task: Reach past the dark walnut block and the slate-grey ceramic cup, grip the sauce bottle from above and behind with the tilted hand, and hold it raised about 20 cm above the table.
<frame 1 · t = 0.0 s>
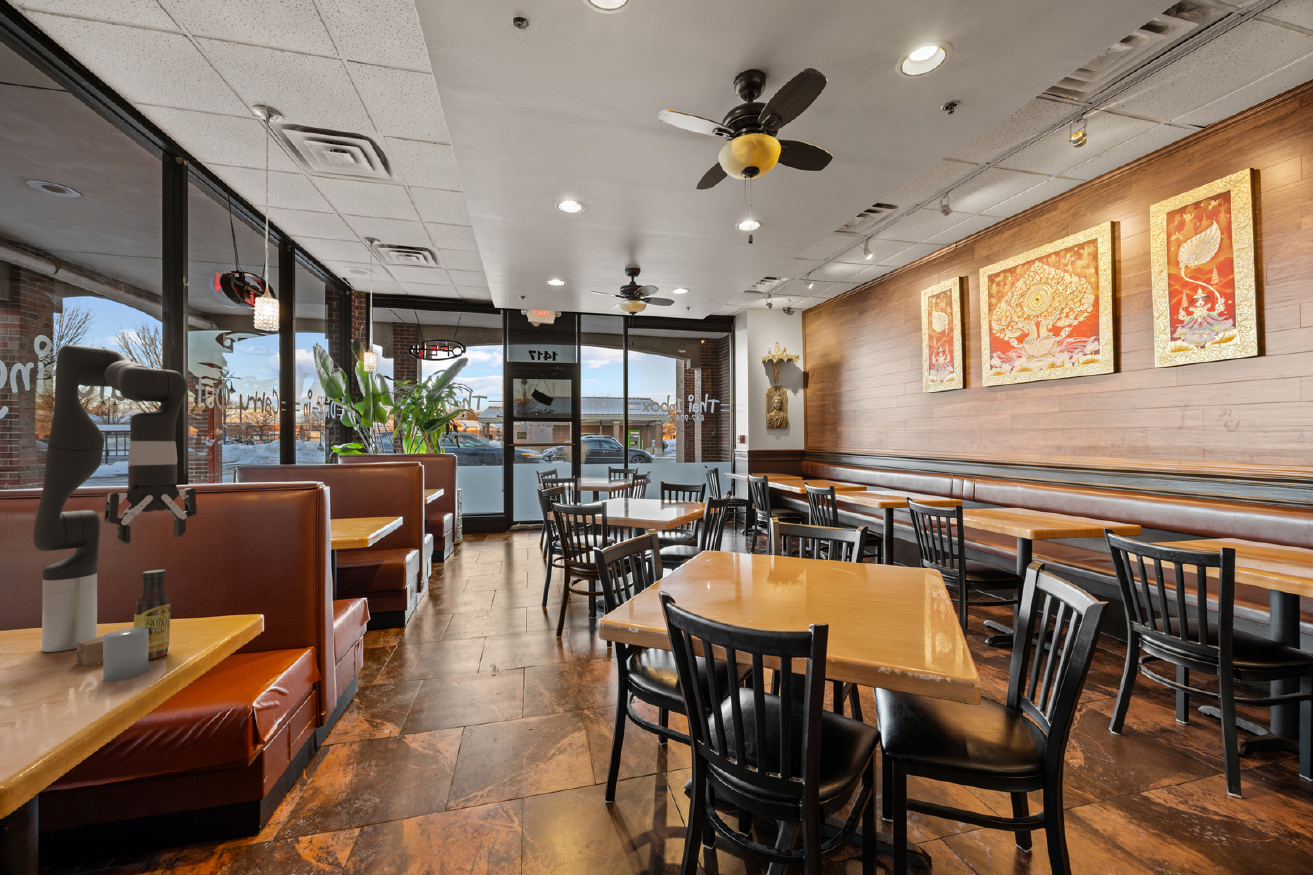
hand: (152, 539, 114), 29 cm above the table, tool pointing down, fingers open, 8 cm apart
sauce bottle: (151, 657, 126), on the table
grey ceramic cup: (126, 674, 116), on the table
walnut block: (96, 661, 124), on the table
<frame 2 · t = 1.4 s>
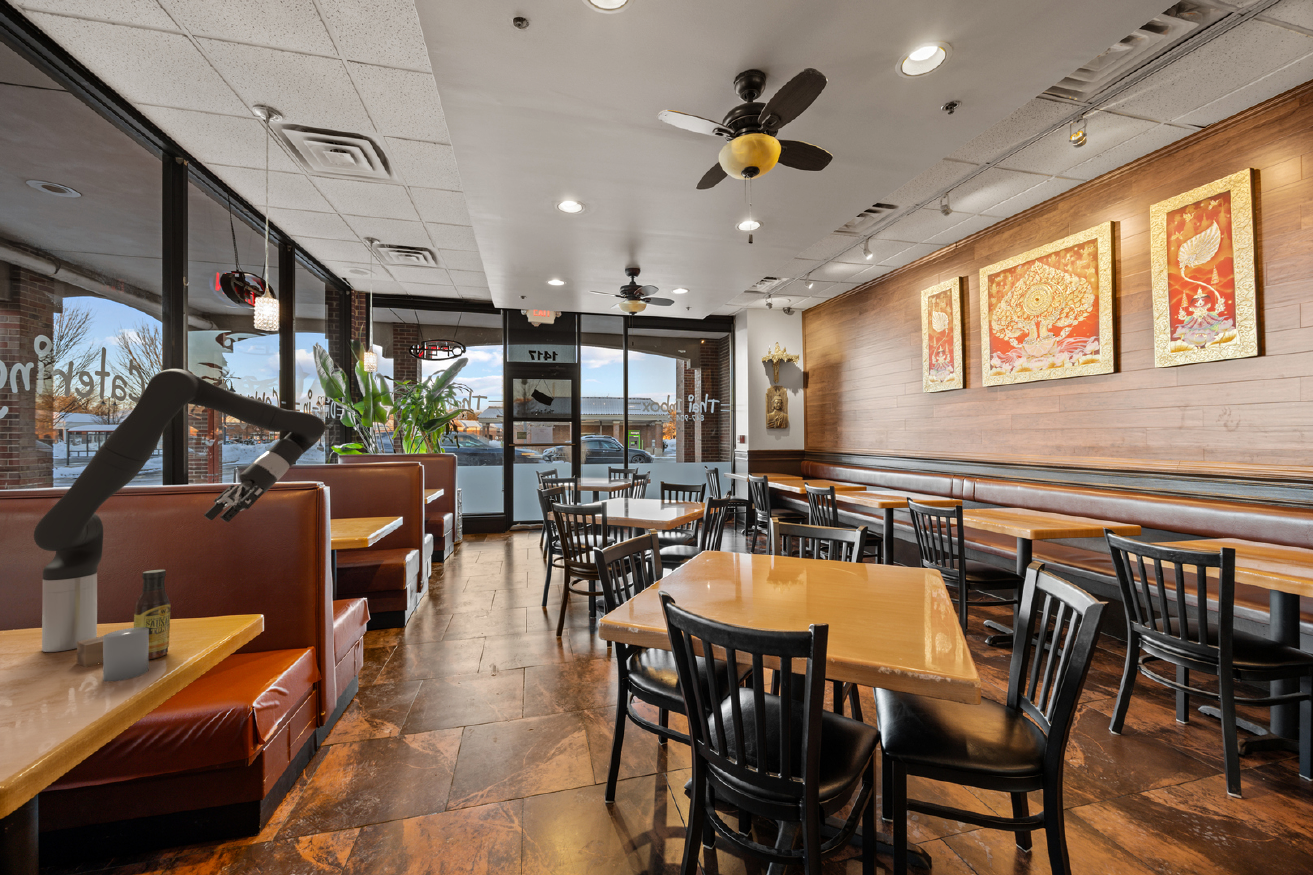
hand: (215, 519, 138), 31 cm above the table, tool tilted 45°, fingers open, 8 cm apart
nothing on the table moved.
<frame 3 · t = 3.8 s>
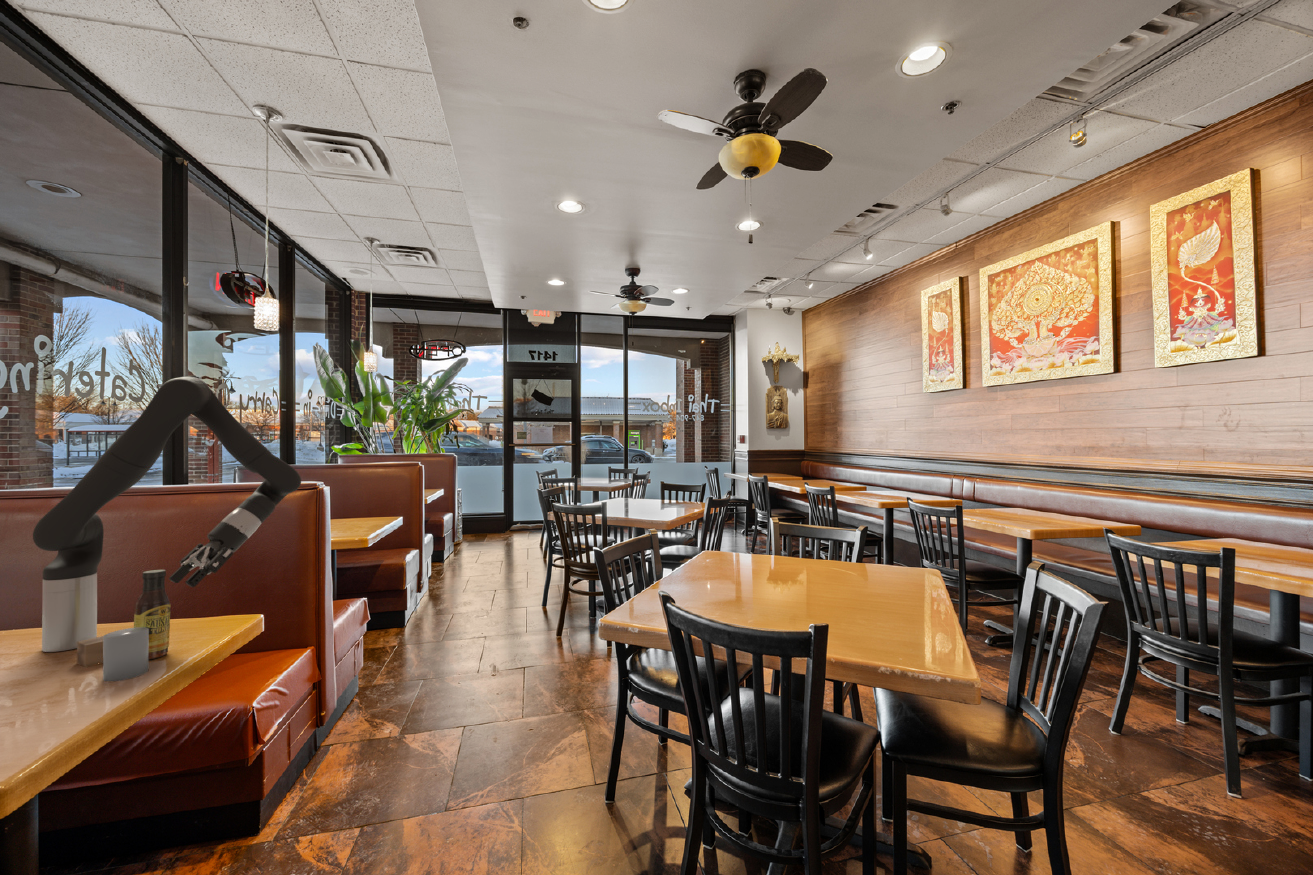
hand: (180, 583, 131), 16 cm above the table, tool tilted 45°, fingers open, 8 cm apart
nothing on the table moved.
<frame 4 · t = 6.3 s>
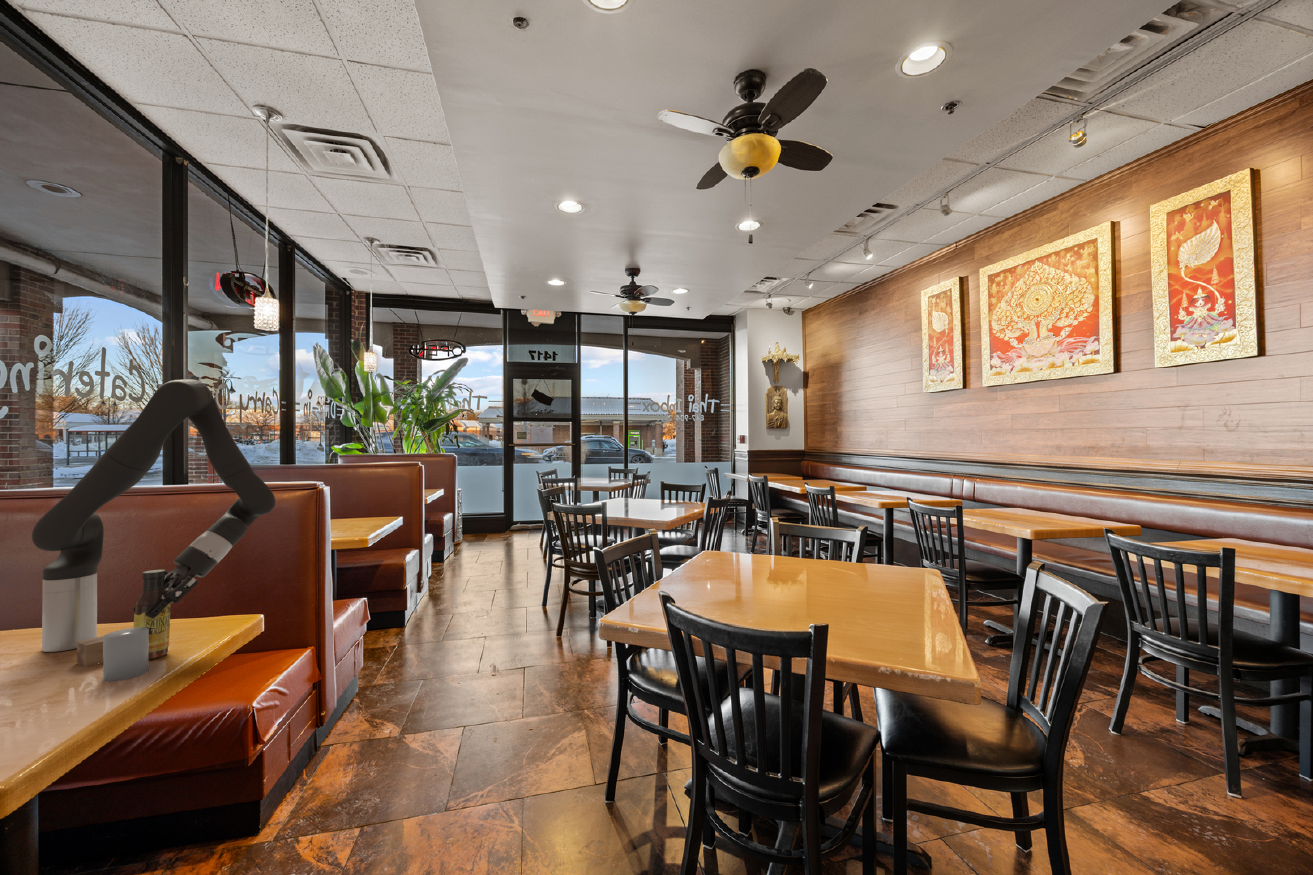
hand: (142, 614, 125), 10 cm above the table, tool tilted 45°, fingers closed on sauce bottle, 6 cm apart
sauce bottle: (151, 657, 126), on the table, touching gripper
everything else where it was.
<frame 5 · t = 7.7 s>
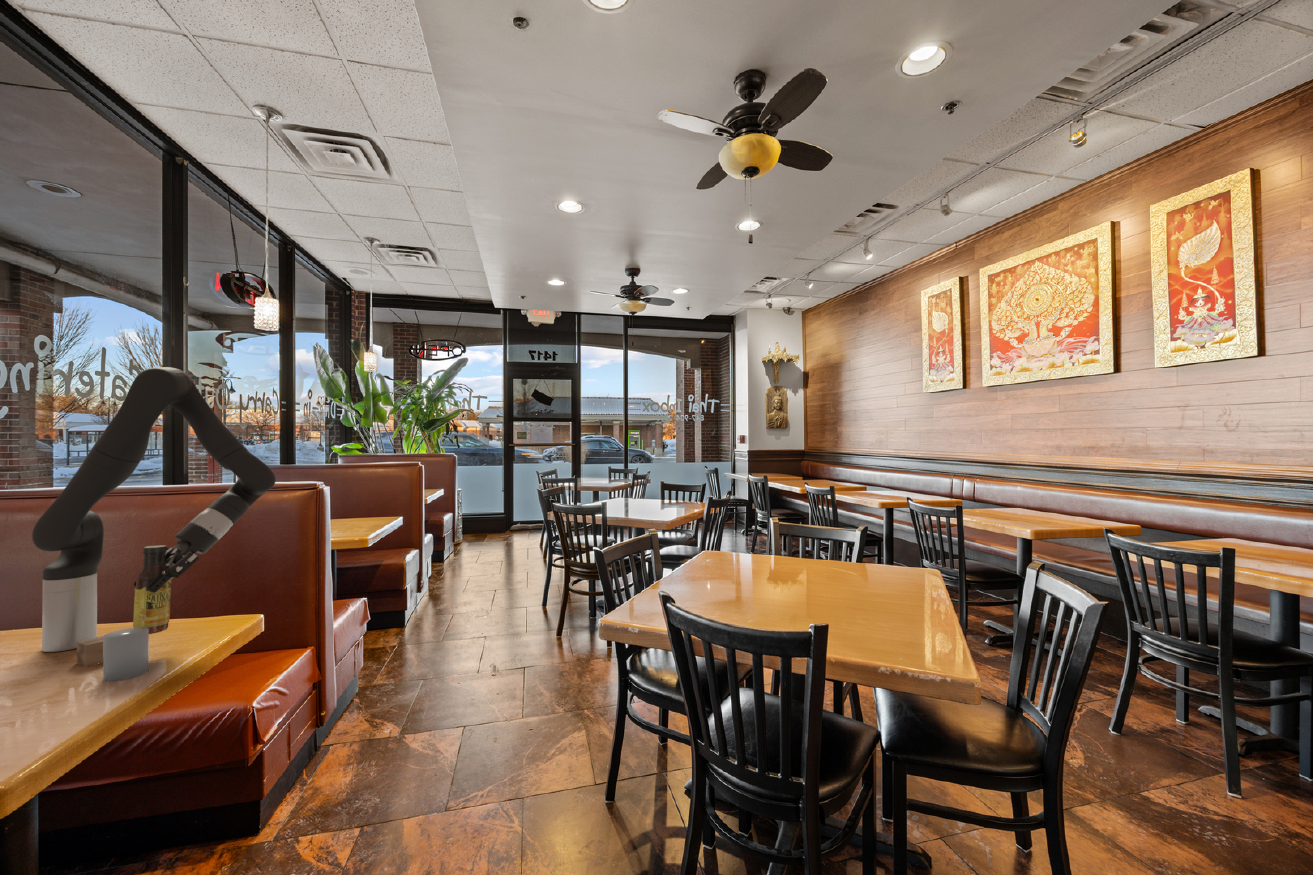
hand: (143, 588, 125), 16 cm above the table, tool tilted 45°, fingers closed on sauce bottle, 6 cm apart
sauce bottle: (152, 632, 127), point 6 cm above the table, touching gripper
everything else where it was.
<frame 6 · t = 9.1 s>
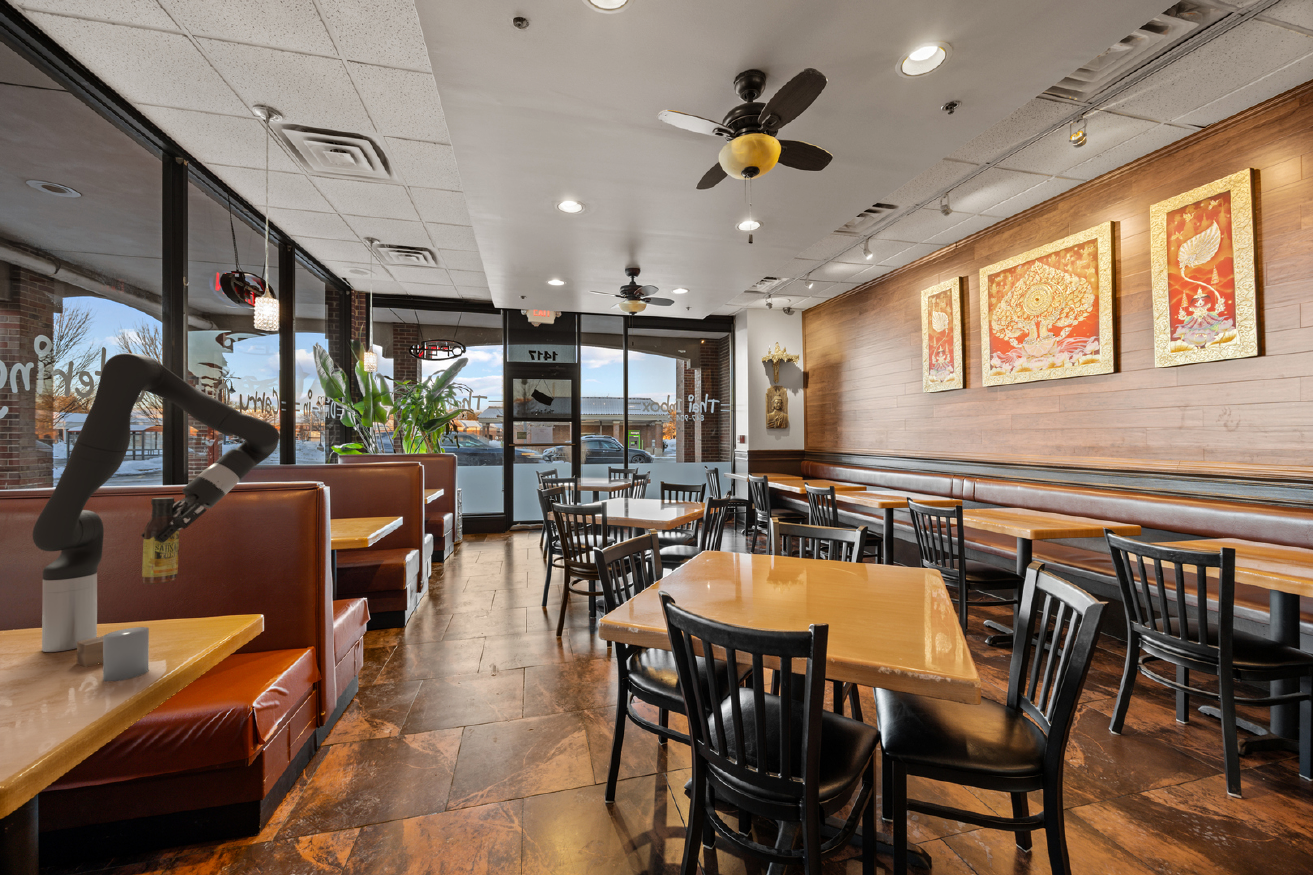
hand: (151, 539, 127), 27 cm above the table, tool tilted 45°, fingers closed on sauce bottle, 6 cm apart
sauce bottle: (160, 582, 128), point 17 cm above the table, touching gripper
everything else where it was.
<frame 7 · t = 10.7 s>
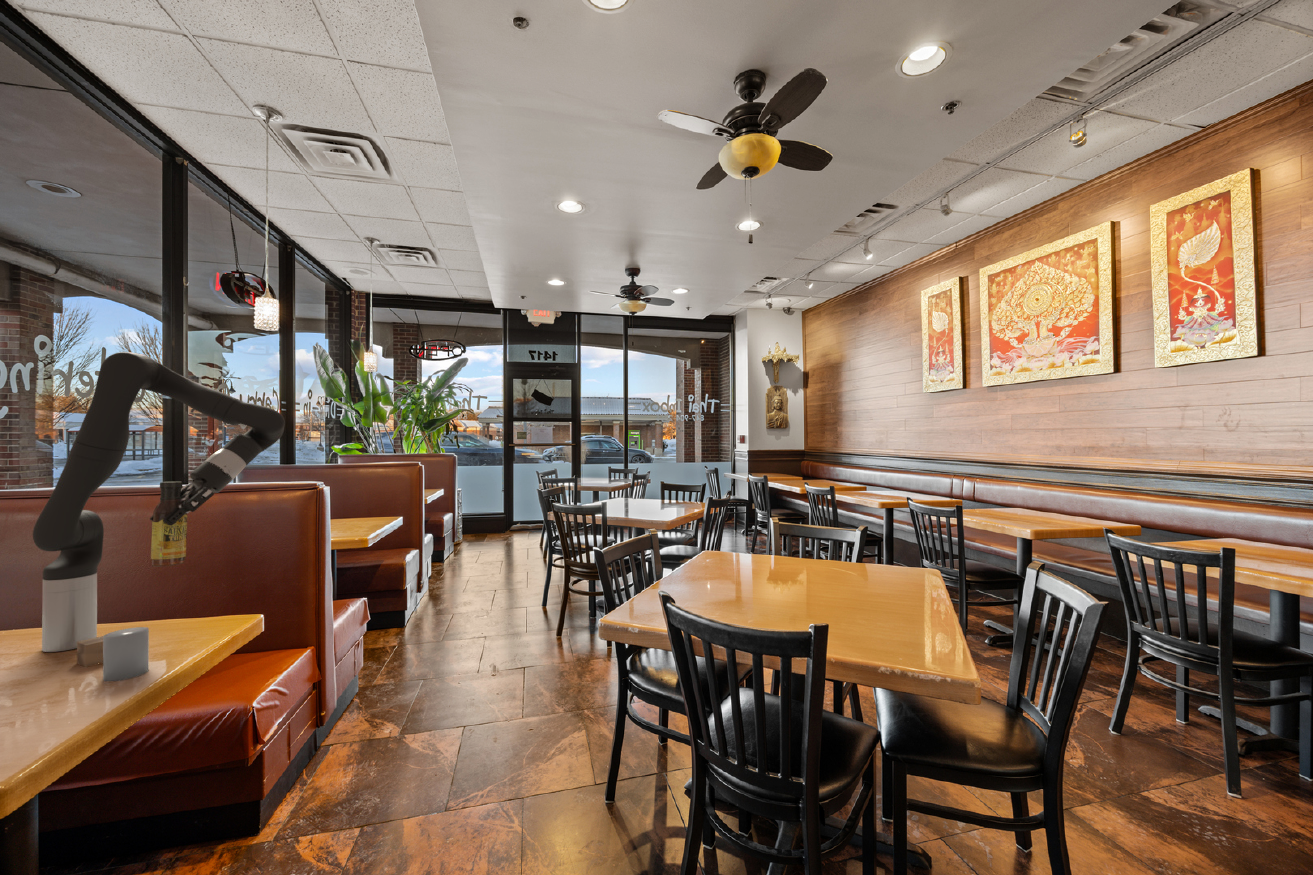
hand: (160, 522, 128), 31 cm above the table, tool tilted 45°, fingers closed on sauce bottle, 6 cm apart
sauce bottle: (169, 565, 129), point 21 cm above the table, touching gripper
everything else where it was.
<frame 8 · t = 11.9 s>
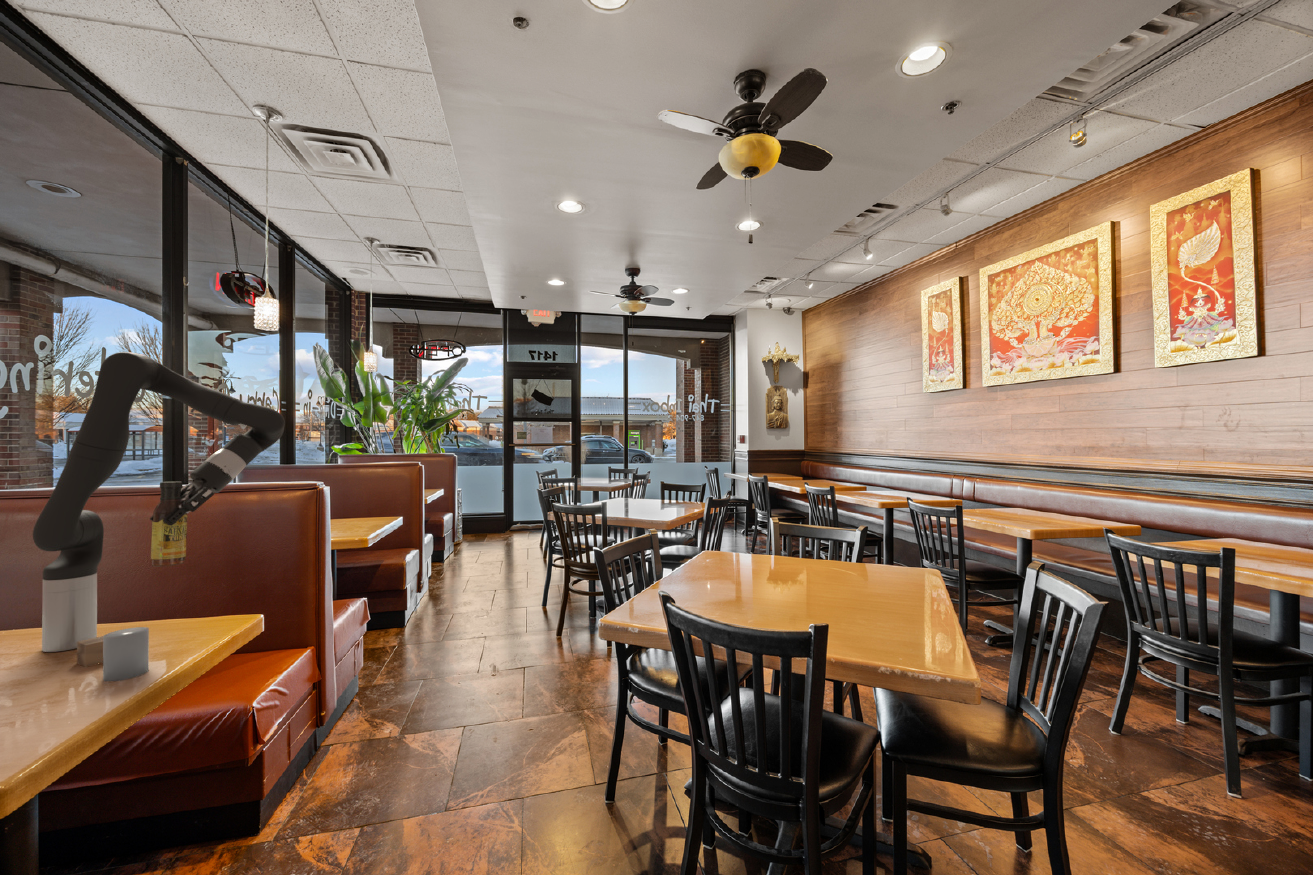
hand: (160, 522, 128), 31 cm above the table, tool tilted 45°, fingers closed on sauce bottle, 6 cm apart
sauce bottle: (169, 565, 129), point 21 cm above the table, touching gripper
everything else where it was.
at the end: the gripper is holding sauce bottle; sauce bottle point 20.6 cm above the table; walnut block moved 0.1 cm from its start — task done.
